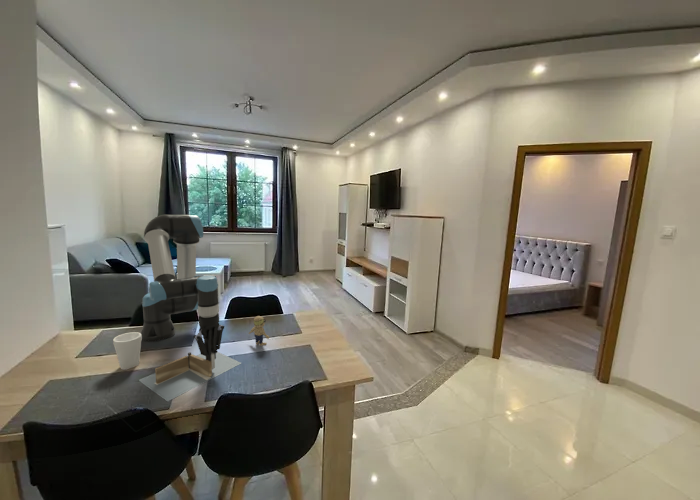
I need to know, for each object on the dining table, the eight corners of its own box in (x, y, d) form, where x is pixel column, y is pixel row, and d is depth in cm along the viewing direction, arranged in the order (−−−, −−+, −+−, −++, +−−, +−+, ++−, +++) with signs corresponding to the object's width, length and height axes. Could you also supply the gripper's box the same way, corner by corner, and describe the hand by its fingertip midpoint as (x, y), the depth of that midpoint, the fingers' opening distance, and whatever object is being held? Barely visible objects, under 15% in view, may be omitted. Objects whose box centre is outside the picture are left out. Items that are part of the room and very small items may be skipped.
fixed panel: (156, 382, 112) (155, 368, 111) (187, 368, 122) (186, 355, 121) (157, 384, 111) (156, 369, 110) (188, 369, 121) (188, 356, 120)
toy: (273, 345, 146) (273, 316, 144) (265, 349, 141) (265, 320, 139) (254, 339, 151) (253, 312, 149) (246, 343, 146) (245, 315, 144)
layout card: (138, 381, 113) (138, 380, 113) (211, 349, 139) (211, 348, 139) (167, 402, 102) (167, 401, 102) (241, 364, 128) (241, 363, 128)
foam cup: (120, 361, 126) (117, 333, 124) (145, 358, 130) (143, 330, 128) (112, 373, 117) (109, 343, 115) (140, 369, 121) (137, 340, 119)
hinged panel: (190, 366, 123) (190, 352, 122) (212, 375, 117) (211, 360, 116) (188, 367, 122) (187, 353, 121) (209, 376, 116) (208, 361, 115)
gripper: (215, 307, 124) (218, 358, 128) (187, 317, 113) (191, 373, 117) (228, 310, 121) (230, 362, 125) (200, 321, 110) (203, 378, 113)
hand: (211, 367), depth 121 cm, fingers closed
